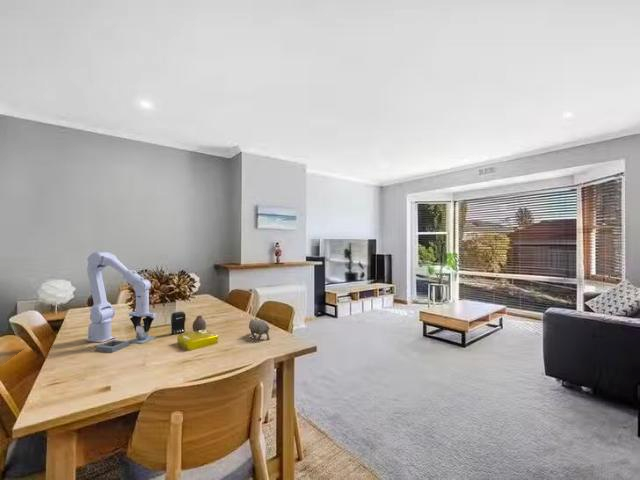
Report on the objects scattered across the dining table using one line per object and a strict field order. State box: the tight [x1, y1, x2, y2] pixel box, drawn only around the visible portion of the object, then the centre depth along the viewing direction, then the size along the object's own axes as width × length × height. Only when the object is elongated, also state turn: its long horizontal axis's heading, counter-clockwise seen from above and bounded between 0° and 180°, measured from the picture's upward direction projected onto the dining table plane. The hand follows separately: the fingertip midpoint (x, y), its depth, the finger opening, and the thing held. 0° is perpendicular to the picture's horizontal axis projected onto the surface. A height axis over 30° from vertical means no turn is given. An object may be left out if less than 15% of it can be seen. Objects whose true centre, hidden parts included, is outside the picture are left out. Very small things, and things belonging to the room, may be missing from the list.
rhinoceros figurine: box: [248, 317, 271, 340], centre depth 158 cm, size 8×14×15 cm
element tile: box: [176, 329, 219, 351], centre depth 149 cm, size 15×15×5 cm
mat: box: [128, 335, 158, 345], centre depth 153 cm, size 9×9×1 cm
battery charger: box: [170, 310, 187, 335], centre depth 165 cm, size 7×4×11 cm, turn 132°
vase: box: [192, 315, 207, 332], centre depth 166 cm, size 7×7×9 cm
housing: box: [95, 339, 130, 353], centre depth 141 cm, size 9×9×2 cm
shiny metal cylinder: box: [135, 323, 149, 339], centre depth 153 cm, size 5×5×6 cm
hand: (142, 331), depth 153 cm, fingers closed on shiny metal cylinder, 5 cm apart
